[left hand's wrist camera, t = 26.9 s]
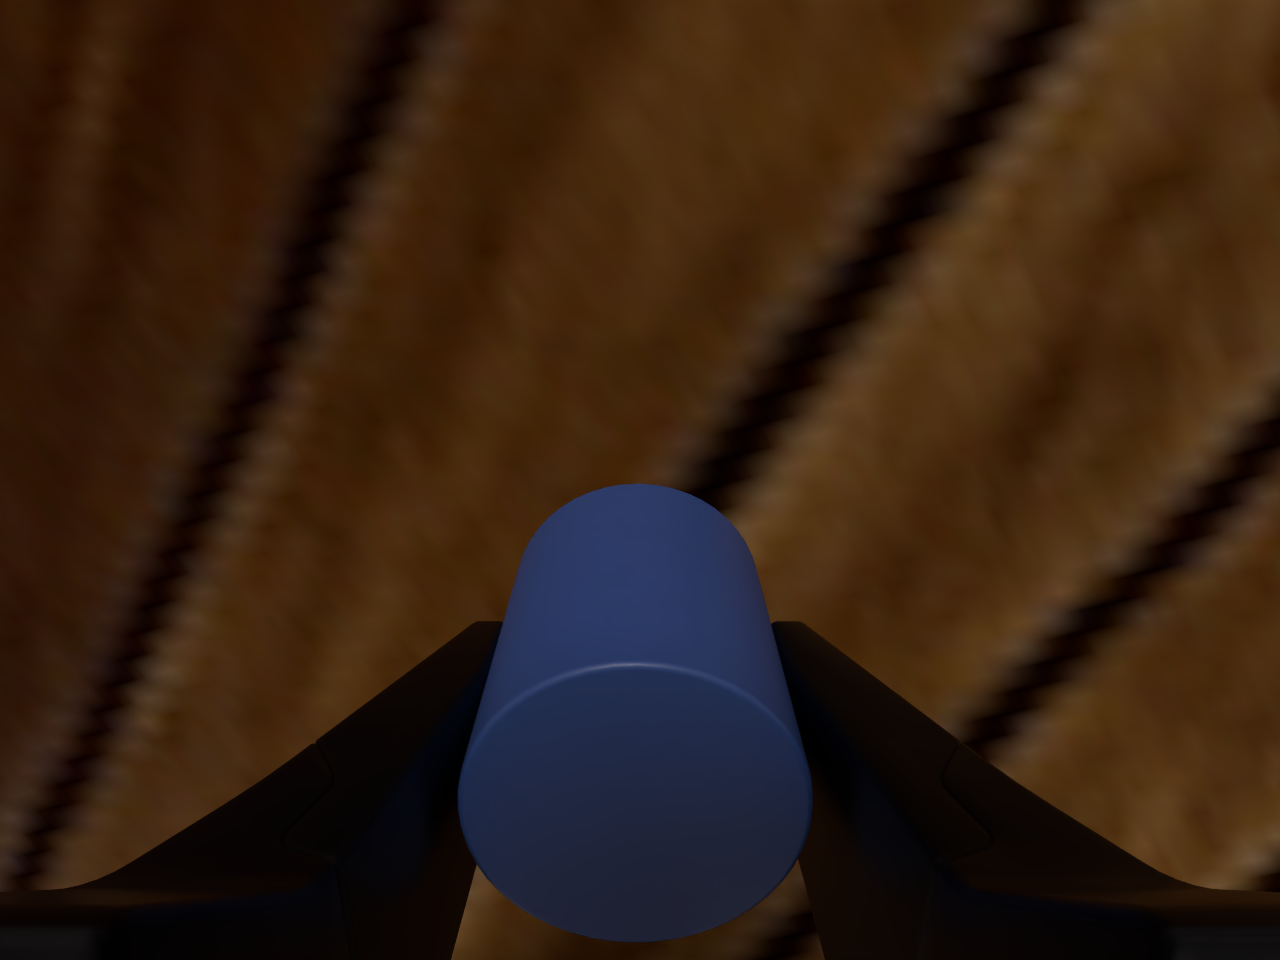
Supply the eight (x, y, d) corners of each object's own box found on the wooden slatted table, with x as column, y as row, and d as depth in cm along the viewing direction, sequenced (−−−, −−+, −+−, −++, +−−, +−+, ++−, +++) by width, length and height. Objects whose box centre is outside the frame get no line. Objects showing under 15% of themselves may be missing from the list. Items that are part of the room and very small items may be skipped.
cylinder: (663, 433, 12) (675, 595, 7) (804, 615, 13) (881, 843, 9) (466, 571, 12) (380, 786, 8) (614, 731, 13) (603, 993, 9)
